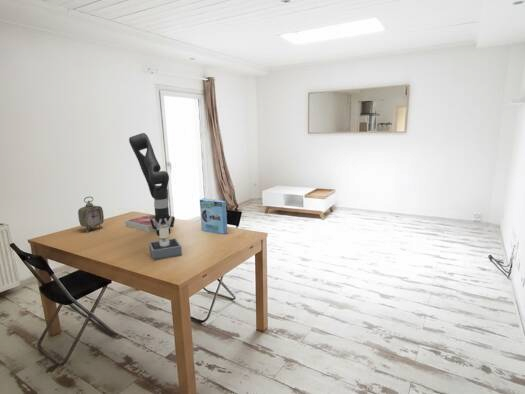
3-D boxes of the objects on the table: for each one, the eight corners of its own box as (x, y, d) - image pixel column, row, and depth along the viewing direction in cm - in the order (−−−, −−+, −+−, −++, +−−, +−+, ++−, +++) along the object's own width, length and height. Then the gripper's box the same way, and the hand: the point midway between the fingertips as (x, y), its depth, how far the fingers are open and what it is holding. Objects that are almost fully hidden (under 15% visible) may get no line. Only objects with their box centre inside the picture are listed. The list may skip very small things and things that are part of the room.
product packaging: (149, 220, 261) (149, 214, 260) (173, 225, 246) (172, 219, 245) (125, 226, 244) (125, 220, 243) (149, 232, 228) (148, 226, 227)
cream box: (158, 235, 187) (157, 226, 186) (167, 234, 189) (166, 225, 188) (160, 238, 182) (159, 229, 181) (169, 236, 184) (168, 227, 183)
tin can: (158, 251, 188) (157, 240, 186) (167, 248, 192) (166, 237, 190) (162, 254, 184) (161, 242, 182) (171, 251, 187) (170, 240, 186)
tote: (149, 251, 191) (149, 242, 190) (176, 246, 198) (175, 238, 197) (153, 260, 178) (152, 250, 176) (181, 255, 184) (181, 246, 183)
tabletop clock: (86, 233, 228) (81, 199, 222) (79, 231, 232) (74, 198, 227) (105, 228, 240) (101, 195, 235) (97, 226, 244) (93, 194, 239)
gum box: (227, 232, 224) (226, 200, 220) (223, 234, 220) (221, 202, 215) (205, 228, 234) (204, 198, 229) (201, 230, 229) (199, 199, 225)
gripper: (149, 209, 176) (151, 238, 179) (175, 206, 182) (177, 235, 185) (147, 206, 182) (149, 235, 186) (173, 203, 188) (175, 231, 192)
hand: (163, 234), depth 185 cm, fingers closed on cream box, 5 cm apart
